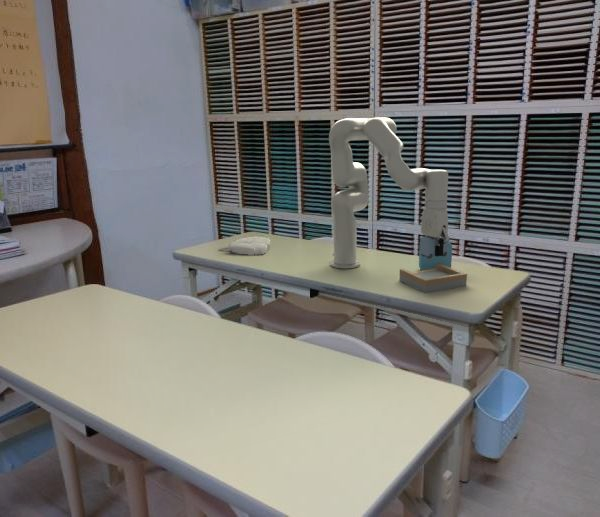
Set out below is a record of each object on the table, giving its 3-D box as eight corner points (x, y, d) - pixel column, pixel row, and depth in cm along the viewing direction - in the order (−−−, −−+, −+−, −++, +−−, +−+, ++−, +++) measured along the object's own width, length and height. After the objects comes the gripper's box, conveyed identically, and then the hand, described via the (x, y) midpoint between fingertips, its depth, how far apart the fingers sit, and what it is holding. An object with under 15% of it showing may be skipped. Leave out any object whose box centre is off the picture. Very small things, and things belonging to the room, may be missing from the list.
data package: (448, 269, 202) (450, 240, 199) (451, 272, 198) (452, 242, 195) (418, 269, 203) (419, 240, 200) (420, 272, 199) (421, 243, 196)
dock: (399, 280, 188) (399, 269, 187) (438, 274, 195) (438, 263, 194) (425, 292, 174) (425, 280, 173) (466, 285, 181) (467, 273, 180)
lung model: (266, 255, 230) (214, 260, 234) (272, 247, 247) (223, 251, 250) (264, 241, 229) (212, 246, 232) (270, 234, 245) (221, 238, 249)
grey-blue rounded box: (418, 256, 183) (419, 237, 181) (439, 253, 186) (439, 234, 184) (428, 259, 178) (429, 240, 176) (448, 256, 181) (449, 237, 179)
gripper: (413, 202, 183) (411, 250, 188) (442, 208, 168) (440, 260, 173) (429, 201, 186) (428, 248, 191) (460, 207, 171) (457, 258, 175)
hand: (434, 253), depth 182 cm, fingers closed on grey-blue rounded box, 5 cm apart
